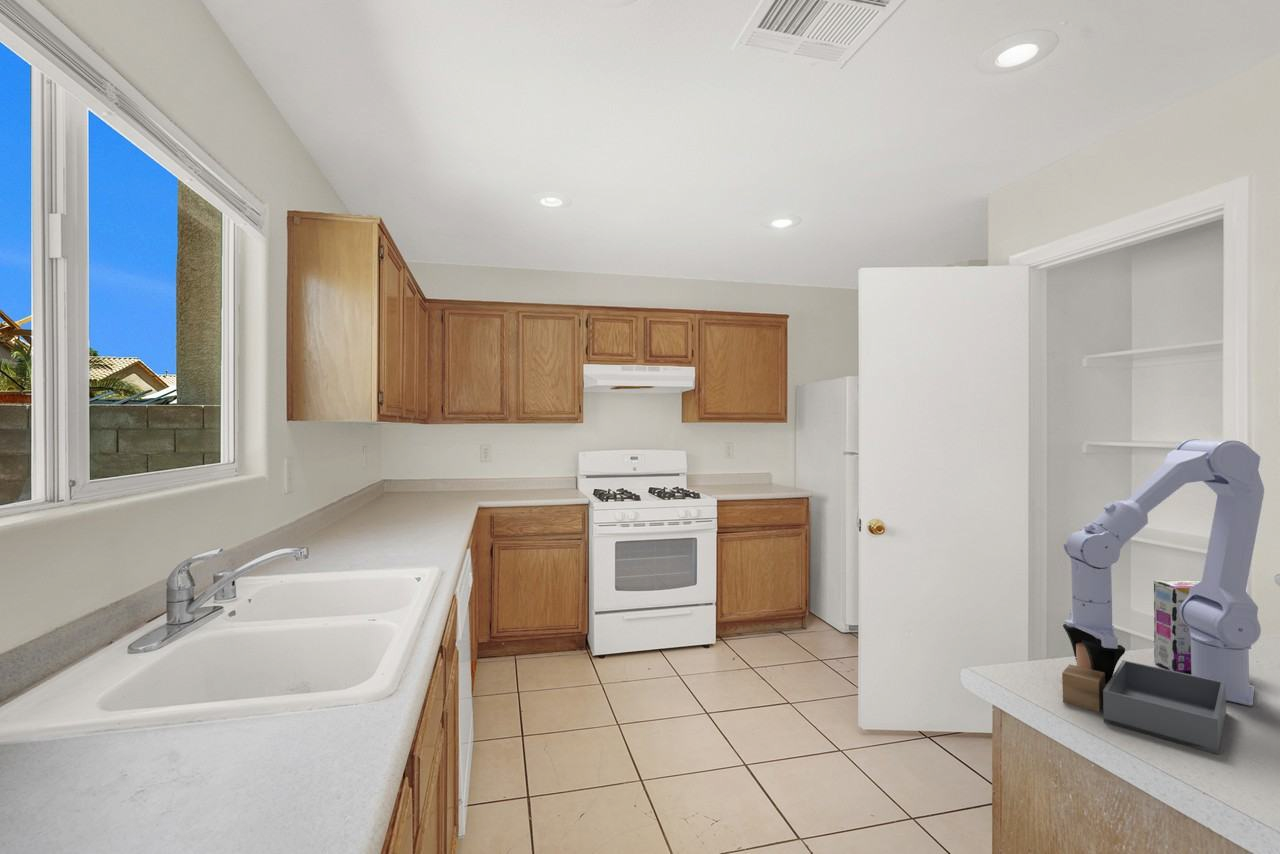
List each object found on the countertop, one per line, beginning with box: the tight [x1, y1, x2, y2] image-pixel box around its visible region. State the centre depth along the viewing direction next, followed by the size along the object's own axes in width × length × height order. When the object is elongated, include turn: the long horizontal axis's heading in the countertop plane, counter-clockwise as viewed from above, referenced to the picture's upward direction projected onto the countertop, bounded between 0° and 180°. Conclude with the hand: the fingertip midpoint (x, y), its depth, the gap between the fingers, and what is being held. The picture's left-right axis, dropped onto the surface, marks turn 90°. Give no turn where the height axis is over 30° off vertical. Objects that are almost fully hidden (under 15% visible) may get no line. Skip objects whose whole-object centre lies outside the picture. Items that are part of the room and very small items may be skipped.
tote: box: [1102, 659, 1227, 756], centre depth 94 cm, size 17×13×5 cm
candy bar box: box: [1153, 580, 1202, 674], centre depth 111 cm, size 11×5×16 cm, turn 88°
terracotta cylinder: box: [1075, 643, 1107, 687], centre depth 105 cm, size 5×5×7 cm
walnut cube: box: [1061, 664, 1105, 712], centre depth 100 cm, size 5×5×5 cm
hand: (1093, 673), depth 105 cm, fingers open, 7 cm apart
